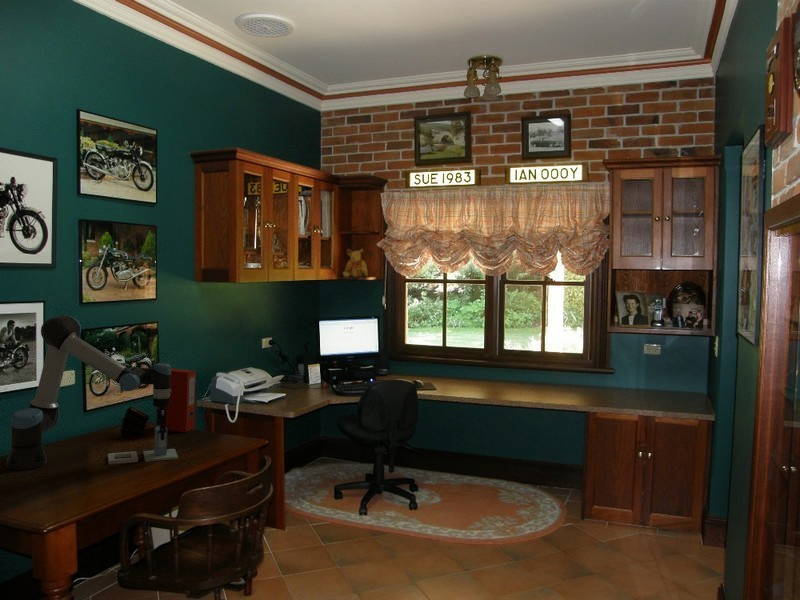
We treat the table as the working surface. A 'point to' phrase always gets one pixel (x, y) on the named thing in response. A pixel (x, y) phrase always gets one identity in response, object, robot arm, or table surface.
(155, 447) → the slate block
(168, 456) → the pad
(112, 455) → the pocket collar
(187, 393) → the file binder
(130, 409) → the black slab
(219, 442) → the table surface
